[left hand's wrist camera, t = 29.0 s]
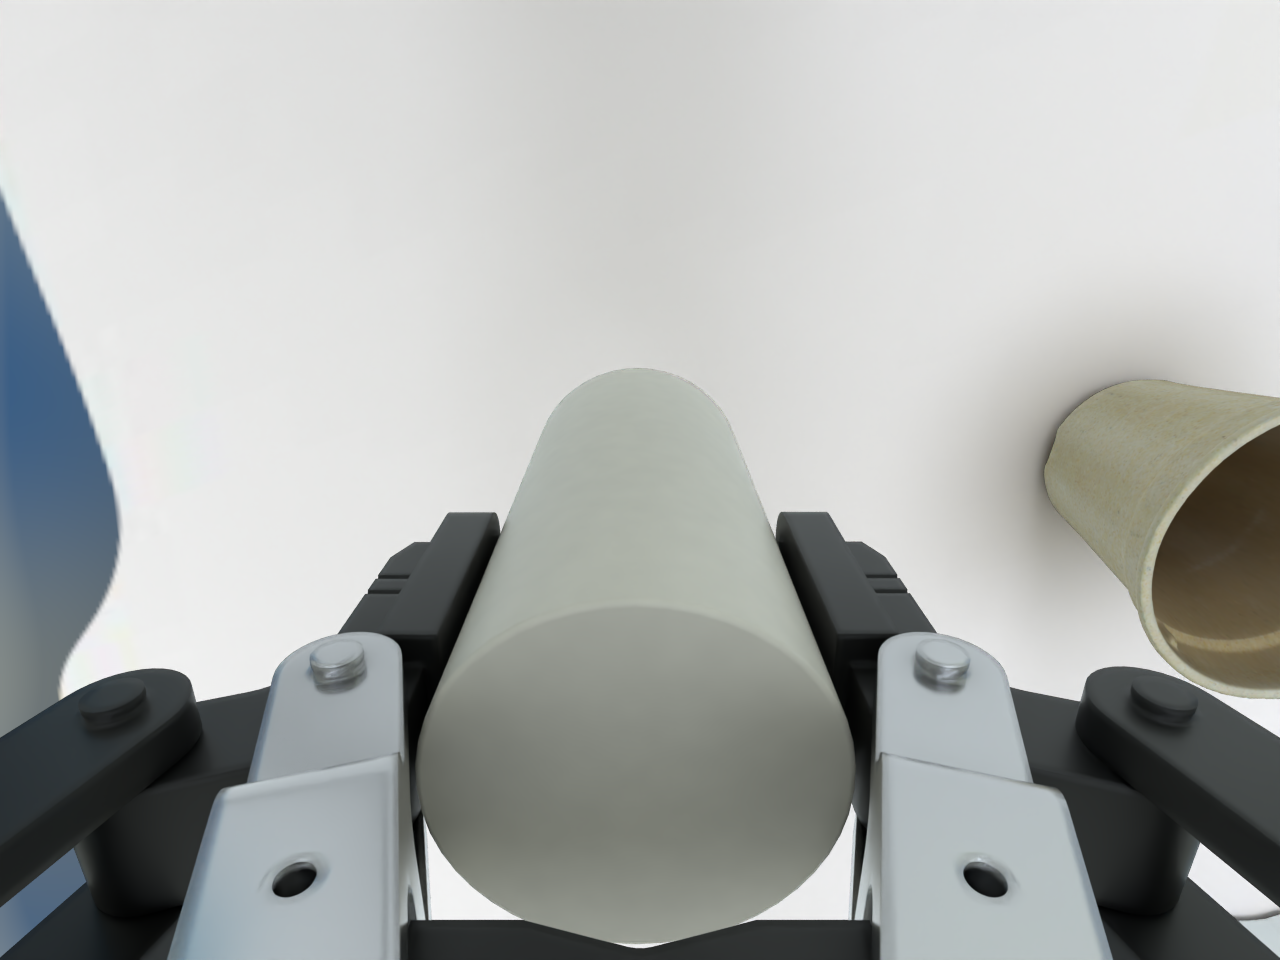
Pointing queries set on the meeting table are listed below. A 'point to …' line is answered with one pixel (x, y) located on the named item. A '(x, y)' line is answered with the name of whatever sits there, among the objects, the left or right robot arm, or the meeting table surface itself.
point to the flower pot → (1184, 520)
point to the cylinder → (636, 686)
